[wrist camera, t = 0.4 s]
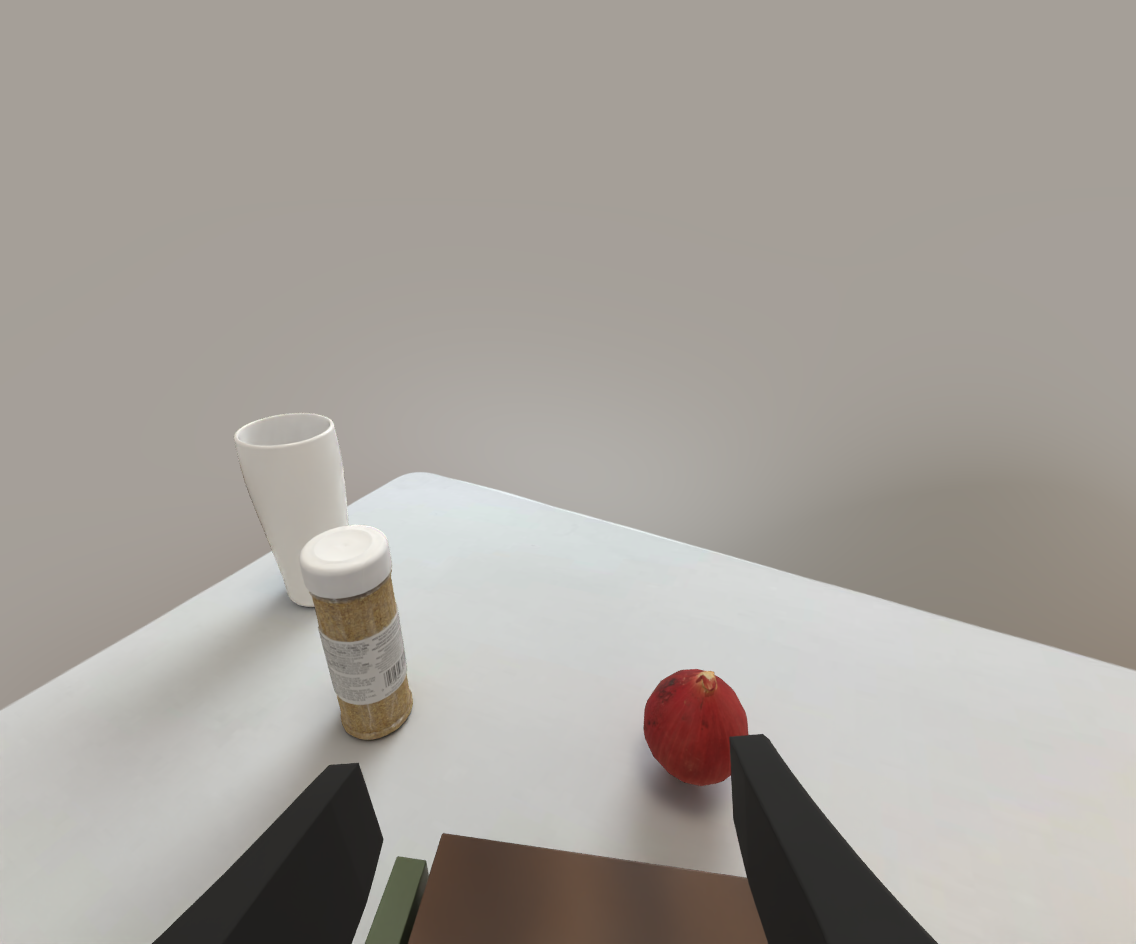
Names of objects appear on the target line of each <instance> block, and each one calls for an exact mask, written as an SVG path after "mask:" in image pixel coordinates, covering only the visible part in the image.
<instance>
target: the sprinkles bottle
mask: <svg viewBox="0 0 1136 944" xmlns="http://www.w3.org/2000/svg"><path fill="white" fill-rule="evenodd" d="M299 562H300V567H301V571H302V576H303V580H304V583H305V586H306V588H307V589H308V590H309V593H310V595H311V596H312V600H313V603H314V607H315V610H316V615H317V619H318V624H319V627H318V629H319V633H320V637H321V641H322V645H323V649H324V653H325V656H326V660H327V664H328V668H329V672H330V676H331V679H332V683H333V687H334V690H335V693H336V694H337V698H338V702H339V706H340V709H341V722H342V725H343V727H344V728H345V730H346V732H347V733H348V734H350V735H352V736H354V737H356V738H359V739H364V740H373V739H377V738H381V737H383V736H386V735H388V734H390V733H391V732H393V731H395V730H397V729H398V728H399V727H400V726H401V725H402V724H403V723H404V722H405V721H406V719H407V717H408V716H409V714H410V712H411V709H412V705H413V699H412V693H411V691H410V689H409V685H408V679H407V663H406V657H405V650H404V643H403V637H402V631H401V625H400V619H399V613H398V607H397V604H396V602H395V597H394V592H393V586H392V580H391V572H392V569H391V568H392V560H391V554H390V548H389V544H388V540H387V538H386V536H385V535H384V533H383V532H381V531H380V530H378V529H376V528H374V527H370V526H365V525H348V526H342V527H337V528H334V529H330V530H328V531H325V532H323V533H321V534H319V535H317V536H315V537H314V538H313V539H311V540H310V541H309V542H308V543H307V544H306V545H305V546H304V547H303V549H302V551H301V553H300V556H299Z"/></svg>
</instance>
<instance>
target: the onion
mask: <svg viewBox="0 0 1136 944" xmlns="http://www.w3.org/2000/svg"><path fill="white" fill-rule="evenodd" d="M644 735H645V739H646V741H647V743H648V746H649V748H650V750H651V752H652V754H653V756H654V757H655V758H656V759H657V761H658V762H659V763H660V764H661V765H662V766H663V767H664V768H665V769H666V771H667V772H668V773H669V774H671V775H672V776H674V777H676V778H677V779H679V780H681V781H682V782H684V783H688V784H693V785H698V786H704V785H710V784H716V783H719V782H722V781H724V780H725V779H727V778H728V777H729V776H730V775H731V761H730V741H729V737H730V736H744V735H748V724H747V717H746V713H745V710H744V709H743V707H742V705H741V703H740V701H739V699H738V697H737V695H736V693H735V692H734V691H733V689H732V688H731V687H730V686H729V685H727V684H726V683H725V682H724V681H723V680H722V679H721V678H719V677H717V676H715V675H714V672H712V671H703V670H699V669H690V670H680V671H678V672H676V673H674V674H672V675H670V676H668V677H667V678H665V679H663V680H662V681H661V682H660V683H659V684H658V686H657V687H656V688H655V690H654V691H653V693H652V694H651V696H650V697H649V699H648V700H647V703H646V706H645V712H644Z"/></svg>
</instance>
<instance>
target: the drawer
mask: <svg viewBox="0 0 1136 944" xmlns="http://www.w3.org/2000/svg"><path fill="white" fill-rule="evenodd" d="M428 877H429V874H428V868H427V863H426V861H425V860H419V859H412V858H406V857H399V856H398V857H397V858H396V861H395V864H394V866H393V869H392V872H391V875H390V877H389V880H388V883H387V885H386V888H385V891H384V893H383V896H382V899H381V902H380V904H379V907H378V910H377V912H376V915H375V918H374V920H373V923H372V926H371V929H370V931H369V934H368V937H367V939H366V942H365V944H408V941H409V938H410V935H411V932H412V929H413V925H414V922H415V919H416V916H417V913H418V909H419V906H420V903H421V900H422V897H423V893H424V890H425V887H426V884H427V881H428Z"/></svg>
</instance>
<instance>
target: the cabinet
mask: <svg viewBox="0 0 1136 944" xmlns="http://www.w3.org/2000/svg"><path fill="white" fill-rule="evenodd" d="M408 944H768V942H767V939H766V936H765V933H764V929H763V926H762V923H761V920H760V917H759V914H758V911H757V908H756V905H755V902H754V899H753V896H752V893H751V890H750V886H749V883H748V879H747V878H745V877H738V876H732V875H725V874H718V873H711V872H704V871H698V870H691V869H684V868H677V867H670V866H663V865H657V864H650V863H643V862H636V861H629V860H623V859H616V858H609V857H602V856H595V855H588V854H582V853H575V852H568V851H561V850H554V849H548V848H541V847H534V846H527V845H520V844H513V843H507V842H500V841H493V840H486V839H479V838H473V837H466V836H459V835H452V834H445V833H443V834H442V836H441V839H440V842H439V845H438V849H437V852H436V855H435V858H434V861H433V865H432V868H431V871H430V874H429V877H428V881H427V884H426V887H425V890H424V893H423V897H422V900H421V903H420V906H419V909H418V913H417V916H416V919H415V922H414V925H413V929H412V932H411V935H410V938H409V941H408Z"/></svg>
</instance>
